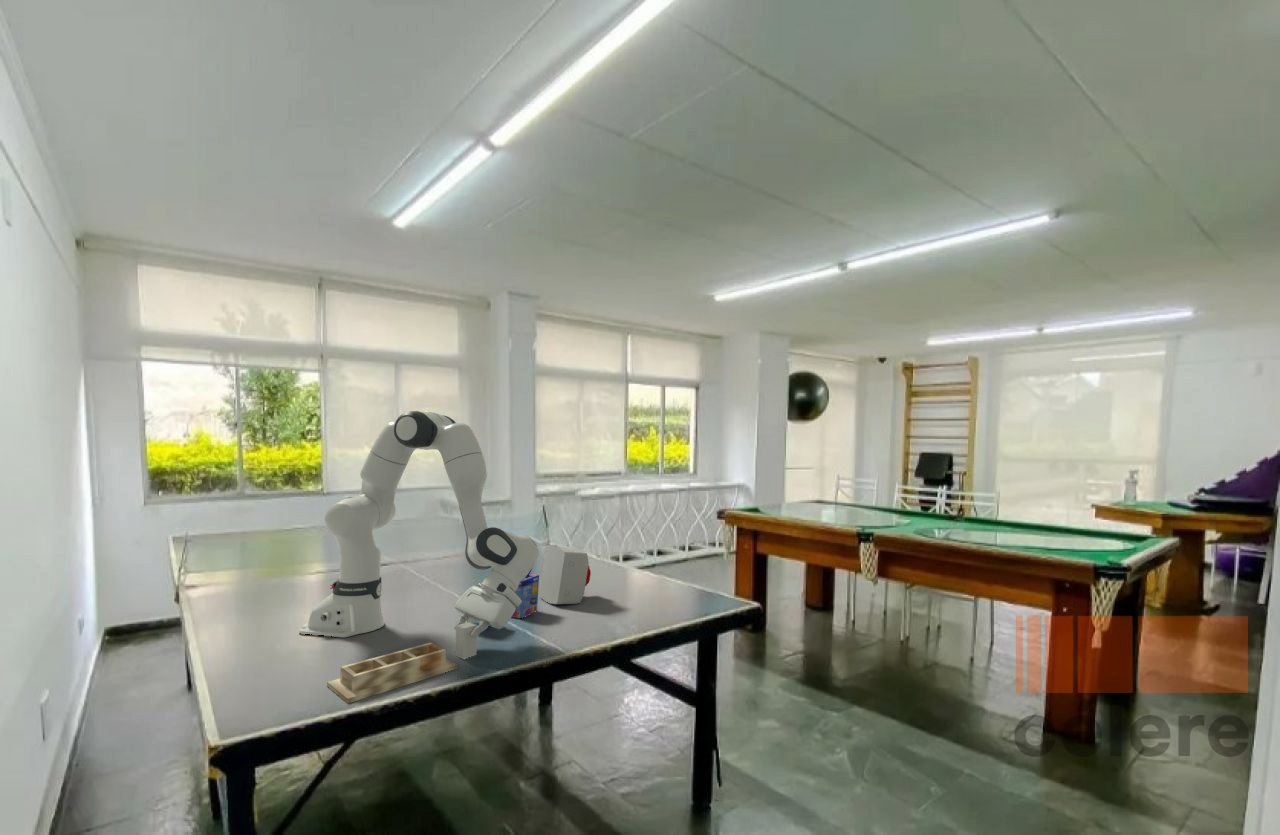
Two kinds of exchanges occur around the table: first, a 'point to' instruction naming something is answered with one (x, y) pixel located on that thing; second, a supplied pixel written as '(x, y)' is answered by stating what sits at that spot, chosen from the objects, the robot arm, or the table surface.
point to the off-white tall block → (465, 640)
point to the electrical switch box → (564, 575)
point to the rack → (390, 671)
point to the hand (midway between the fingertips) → (464, 633)
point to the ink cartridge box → (527, 595)
